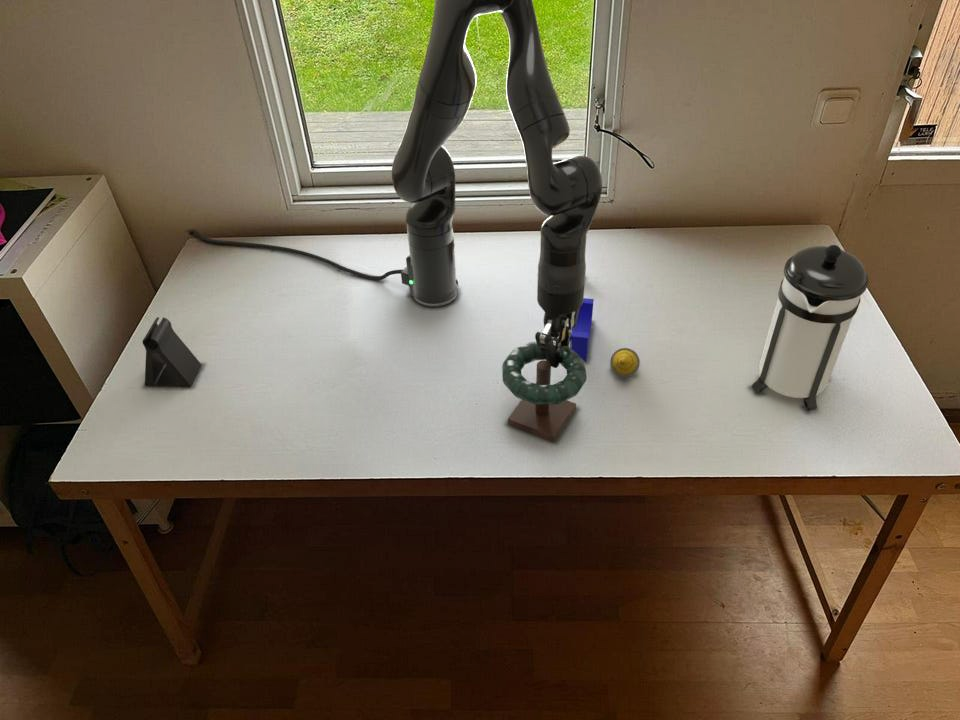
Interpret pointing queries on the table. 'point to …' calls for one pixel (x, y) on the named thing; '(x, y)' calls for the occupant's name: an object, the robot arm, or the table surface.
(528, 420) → the stand
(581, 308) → the cable clip
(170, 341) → the phone stand
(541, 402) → the green ring
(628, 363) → the yellow cone
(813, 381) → the coffee press
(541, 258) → the robot arm
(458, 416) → the table surface
